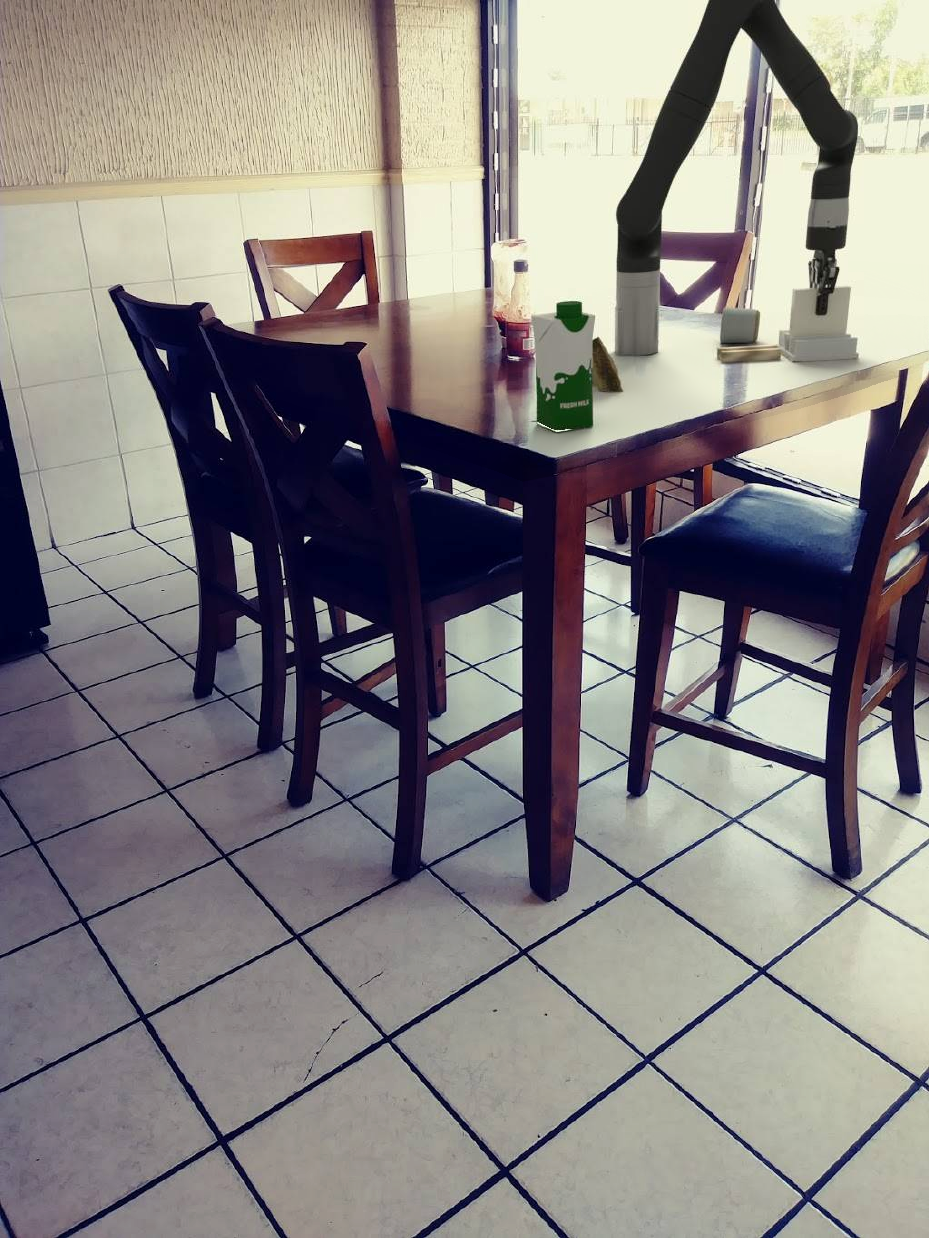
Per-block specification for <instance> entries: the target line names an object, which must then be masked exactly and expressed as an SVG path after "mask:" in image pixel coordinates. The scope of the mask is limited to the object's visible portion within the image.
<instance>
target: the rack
mask: <svg viewBox="0 0 929 1238" xmlns="http://www.w3.org/2000/svg"><path fill="white" fill-rule="evenodd" d="M789 330H790V329H780V330H779V333H778V344H775V345H776V346H777V348H781V353H782V354H781V355H783V357H785V358H786V359H788V360H789V361H791V362H792V361H802V362H816V361H817V362H818V361H835V360H837V361H838V360H854V359H853V358H858V359H859V356H860V355H859V354H860V353H859V352H857V349H858V348H857V346H858V337H857V336H856V337H852V334H851V333H846V334H836V335H817V336H799V337H790V340H789Z"/></svg>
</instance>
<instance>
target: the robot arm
mask: <svg viewBox="0 0 929 1238" xmlns="http://www.w3.org/2000/svg"><path fill="white" fill-rule="evenodd" d="M741 30H743V32H744V33H746V35H747V36H748V37H749V38H750V40H752V42H753V43H754V44H755V46H756V47H757V48H758V50H759V52H760V53H761V54H762V56H763V58H764V60H765V62H766V63H767V65H768V67H769V70H770V71H771V72H772V74H773V76H774V78H775V80H776V81H777V83H778V85H779V86H780V87H781V89H782V91H783V92H784V93H785V95H786V96H787V99H788V100H789V101H790V102H791V105H793V107H794V108H795V110H797V112H798V113H799V115H800V118H801V120H802V122H803V125H804V126H805V128H806V130H807V131H808V133H809V136H810V137H811V138H812V141H814V143H815V144H816V146H818V148H819V149H818V151H819V152H818V161H817V166H816V168H815V170H814V172H813V175H812V181H811V182H812V183H811V193H810V202H809V203H810V204H809V207H808V214H807V224H806V225H807V226H806V236H805V237H806V238H805V248H806V250H809V251H814V253H813V258H811V260H809V261H808V264H807V265H808V279H809V288H817V293H816V294H817V299H816V310H815V314H816V315H818V316H819V315H826V314H827V309H828V298H829V296H830V294H833V292H834V288H835V286H836V284H837V281H838V276H839V274H840V269H841V268H840V266H837V264H838V263H837V262H838V261H837V259H836V251H837V250H841V249H844V248H845V247H846V245H847V234H848V233H847V232H848V223H849V213H850V212H849V211H850V203H849V202H850V200H849V199H850V198H849V197H850V190H851V180H852V179H851V178H852V177H851V176H852V166H853V162H854V158H855V153H856V147H857V143H858V136H859V135H858V134H859V123H858V119H857V117H856V116H855V114H854V113H853V112H852V111H850V110H848V109H844V108H843V106H842V105H841V104H840V101H838V99H837V98H836V96H835V95H834V94H833V92H832V90H831V89H832V88H831V87H832V86H831V84H830V82H829V79H828V78H827V76H826V74H825V73H824V72H823V70H822V68H821V67H820V66H819V64H818V63H817V62H816V59H815V58H814V57H813V55H812V54H811V53H810V52H809V50H808V49H807V48H806V47H805V45H804V44H803V43H802V42H801V40H800V39H799V38H798V37H797V35H796V34H795V32H794V31H793V30H792V29H791V27H790V26H789V24H788V23H787V22H786V20H785V18H784V17H783V15H782V13H781V10H780V9H779V7H778V4H777V3H776V0H708V1H707V4H706V7H705V10H704V13H703V15H702V19H701V21H700V24H699V26H698V30H697V32H696V34H695V36H694V39H693V41H692V43H691V44H690V46H689V48H688V51H687V52H686V54H685V56H684V58H683V60H682V62H681V65H680V66H679V69H678V71H677V72H676V73H677V74H675V77H674V79H673V82H672V83H671V84H670V85H671V86H670V87H669V89H668V92H667V94H666V96H665V99H664V100H663V104H662V105H661V108H660V110H659V113H658V116H657V119H656V121H655V124H654V126H653V129H652V132H651V135H650V138H649V141H648V144H647V148H646V151H645V153H644V157H643V159H642V161H641V164H640V165H639V167H638V170H636V173H635V175H634V177H633V179H632V180H631V182H630V184H629V186H628V188H626V191H625V193H624V194H623V196H622V197H621V199H620V200H619V202H618V204H617V207H616V211H615V219H616V220H615V221H616V223H617V249H616V282H615V283H616V286H615V287H616V288H615V289H616V290H615V291H616V296H615V297H616V299H615V300H616V302H615V303H616V304H615V305H616V306H615V307H614V308H615V309H614V351H615V353H616V355H618V356H645V355H646V356H647V355H653V354H655V353H657V352H659V334H660V333H659V331H660V329H659V327H660V293H661V292H660V291H661V288H660V287H661V284H660V283H661V258H662V257H661V255H662V225H663V224H662V223H663V221H662V220H663V210H664V206H665V202H666V201H667V197H668V194H669V191H670V189H671V188H672V185H673V182H674V180H675V177H676V176H677V174H678V172H679V170H680V168H681V167H682V165H683V164H684V162H685V160H686V158H687V157H688V155H689V153H690V152H691V150H692V149H693V147H694V146H695V144H696V142H697V140H698V138H699V136H700V134H701V132H702V130H703V129H704V126H705V125H706V123H707V120H708V118H709V116H710V114H711V113H712V109H713V107H714V105H715V104H716V103H715V102H716V100H717V98H718V95H719V91H720V89H721V85H722V81H723V77H724V74H725V69H726V65H727V63H728V59H729V55H730V52H731V50H732V48H733V45H734V44H735V43H734V42H735V41H736V39H737V38H738V34H740V31H741ZM825 287H826V288H825Z"/></svg>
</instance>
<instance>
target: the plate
mask: <svg viewBox="0 0 929 1238" xmlns="http://www.w3.org/2000/svg"><path fill="white" fill-rule="evenodd" d="M826 287H827V286H826ZM826 287H825V288H826ZM851 291H852V287H851V286H849V285H839V286H836V285H835V288H834V292H833V294H830V296H829V298H828V309H827V314H826V315H819V316H818V315H816V314H815V310H816V299H817V294H816V293H817V288H810V287H806V288H805V287H804V288H792V295H791V296H792V297H791V306H790V319H789V320H790V321H789V322H790V323H789V329H788V330H789V340H790V337H799V336H817V335H836V334H847V329H848V318H849V310H850V299H851Z"/></svg>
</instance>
